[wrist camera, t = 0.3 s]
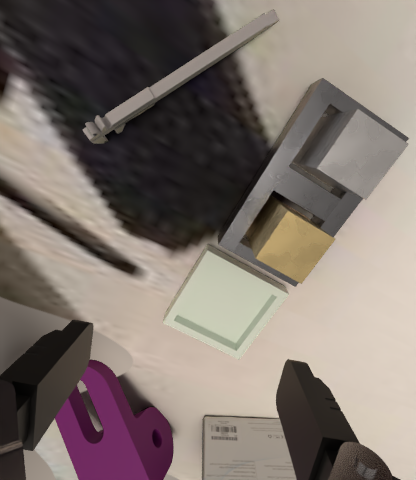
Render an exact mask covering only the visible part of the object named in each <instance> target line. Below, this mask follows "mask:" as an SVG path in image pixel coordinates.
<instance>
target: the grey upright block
mask: <svg viewBox="0 0 416 480" xmlns="http://www.w3.org/2000/svg"><path fill="white" fill-rule="evenodd" d="M407 146H408V143H406V142H405V141H404V140H402V139H401V138H399V137H398V136H396V135H395V134H393V133H392V132H391V131H389V130H388V129H386V128H385V127H383V126H382V125H381V124H379V123H378V122H376V121H375V120H373V119H372V118H370V117H369V116H368V115H366V114H365V113H363V112H362V111H360V110H359V109H355V110H351V111H346V112H342V113H338V114H333V115H329V116H325V117H321V118H320V119H319V121H318V122H317V124H316V125H315V127H314V129H313V130H312V132H311V133H310V135H309V136H308V138H307V139H306V141H305V142H304V144H303V145H302V147H301V149H300V150H299V152H298V153H297V155H296V156H295V158H294V159H293V161H292V162H291V163H293V164H294V165H296V166H298V167H299V168H301V169H302V170H304V171H306V172H307V173H309V174H310V175H312V176H314V177H315V178H317V179H318V180H320V181H321V182H323V183H325V184H326V185H328V186H330V187H333V188H336V189H339V190H341V191H344V192H347V193H349V194H352V195H355V196H357V197H360V198H363V199H367V198H368V196H369V195H370V194H371V192H372V191H373V190H374V189H375V187H376V186H377V185H378V183H379V182H380V181H381V180H382V178H383V177H384V176H385V174H386V173H387V172H388V170H389V169H390V168H391V167H392V165H393V164H394V163H395V161H396V160H397V159H398V157H399V156H400V155H401V154H402V152H403V151H404V150H405V148H406V147H407Z"/></svg>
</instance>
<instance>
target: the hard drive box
mask: <svg viewBox="0 0 416 480" xmlns="http://www.w3.org/2000/svg"><path fill="white" fill-rule="evenodd" d="M202 480H297V479H296V475H295V471H294V468H293V464H292V461H291V457H290V454H289V450H288V446H287V443H286V439H285V436H284V432H283V429H282V425H281V421H280V419H277V418H276V419H263V418H237V417H208V416H206V417H205V418H204V419H203V431H202Z"/></svg>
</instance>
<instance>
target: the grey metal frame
mask: <svg viewBox="0 0 416 480" xmlns="http://www.w3.org/2000/svg"><path fill="white" fill-rule="evenodd" d="M355 109H359V110H360V111H362V112H363V113H365V114H366V115H368V116H369V117H370V118H372V119H373V120H375V121H376V122H378V123H379V124H381V125H382V126H383V127H385V128H386V129H388V130H389V131H391V132H392V133H393V134H395V135H396V136H398V137H399V138H401V139H402V140H404V141H405V142H406V141H407V140H408V139H409V138H408V137H407V136H405V135H404V134H402V133H401V132H399V131H398V130H397V129H395V128H394V127H392V126H391V125H389V124H388V123H387V122H385V121H384V120H382V119H381V118H379V117H378V116H376V115H375V114H374V113H372V112H371V111H369V110H368V109H366V108H365V107H364V106H362V105H361V104H359V103H358V102H356V101H355V100H354V99H352V98H351V97H349V96H348V95H346V94H345V93H344V92H342V91H341V90H339V89H338V88H336V87H335V86H334V85H332V84H331V83H329V82H328V81H326V80H325V79H324V78H322V79H320V80H318V81H317V82H315V83H313V84H311V86H310V87H309V89H308V91H307V92H306V94H305V96H304V97H303V99H302V100H301V102H300V104H299V105H298V107H297V108H296V110H295V112H294V113H293V115H292V117H291V118H290V120H289V121H288V123H287V125H286V126H285V128H284V129H283V131H282V133H281V134H280V136H279V138H278V139H277V141H276V142H275V144H274V146H273V147H272V149H271V151H270V152H269V154H268V155H267V157H266V159H265V160H264V162H263V163H262V165H261V167H260V168H259V170H258V172H257V173H256V175H255V176H254V178H253V180H252V181H251V183H250V184H249V186H248V188H247V189H246V191H245V193H244V194H243V196H242V197H241V199H240V201H239V202H238V204H237V206H236V207H235V209H234V210H233V212H232V214H231V215H230V217H229V218H228V220H227V222H226V223H225V225H224V227H223V228H222V230H221V231H220V233H219V235H218V245H220V246H222V247H224V248H226V249H227V250H229V251H231V252H233V253H235V254H237V255H238V256H240V257H242V258H244V259H246V260H247V261H249V262H251V263H253V264H255V265H257V266H258V267H260V268H262V269H264V270H266V271H268V272H269V273H271V274H273V275H275V276H277V277H279V278H280V279H282V280H284V281H286V282H288V283H290V284H291V285H293V286H295V287H296V285H297V284H298V283H299V282H297V281H295V280H294V279H292V278H290V277H288V276H286V275H284V274H283V273H281V272H279V271H277V270H275V269H274V268H272V267H270V266H268V265H266V264H265V263H263V262H261V261H259V260H257V259H255V256H254V254H253V251H252V248H251V246H250V243H249V240H247V239H245V238H243V236H244V235H245V233H246V232H247V230H248V228H249V227H250V225H251V224H252V222H253V221H254V219H255V218H256V216H257V215H258V213H259V212H260V210H261V208H262V207H263V205H264V204H265V202H266V201H267V199H268V198H269V196H270V195H271V193H272V192H273V190H274V191H276V192H277V193H279V194H281V195H282V196H284V197H286V198H287V199H289V200H291V201H292V202H294V203H296V204H297V205H299V206H301V207H302V208H304V209H306V210H307V211H309V212H311V213H312V214H314V216H313V218H312V219H311V221H313V222H314V223H315V224H317V225H318V226H319V227H320V228H322V229H323V230H324V231H326V232H327V233H328V234H330V235H331V236H332V237H334V236H335V234H336V233H337V232H338V230H339V229H340V228H341V227H342V225H343V224H344V223H345V221H346V220H347V219H348V217H349V216H350V215H351V213H352V212H353V211H354V210H355V208H356V207H357V206H358V204H359V203H360V202H361V200H362V199H363V198H360V197H357V196H355V195H352V194H349V193H347V192H344V191H341V190H339V189H336V188H334V189H333V190H332V191H331V193H330V192H328V191H327V190H325V189H323V188H322V187H320V186H319V185H317V184H315V183H314V182H312V181H311V180H309V179H307V178H306V177H304V176H303V175H301V174H299V173H298V172H296V171H295V170H293V169H291V168H290V167H289V165H290V164H291V162H292V161H293V159H294V158H295V156H296V155H297V153H298V152H299V150H300V149H301V147H302V145H303V144H304V142H305V141H306V139H307V138H308V136H309V135H310V133H311V132H312V130H313V129H314V127H315V125H316V124H317V122H318V121H319V119H320V118H321V116H322V115H323V113H324V112H326V113H327V114H329V115H333V114H338V113H342V112H346V111H351V110H355Z"/></svg>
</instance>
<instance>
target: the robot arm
mask: <svg viewBox="0 0 416 480" xmlns="http://www.w3.org/2000/svg"><path fill="white" fill-rule="evenodd" d="M92 335H93V323H89V322H84V321H78V320H72V321H71V322H70V323H69V324H68V325H67V326H66V327H65V328H64V329H63V330H62V331H60V330H54V331H52V332H50V333H48V334H46V335H44V336H42V337H41V338H40V339H39V340H38V341H37V342H36V343H35V344H34V345H33V346H32V347H31V348H29V349H28V350H27V351H26V353H25V354H23V355H22V356H21V357H20V358H19V359H17V360H16V361H15V362H14V363H13V364H12V365H11V366H10V367H9V368H8V369H7V370H6V371H4V372H3V373H2V374H1V375H0V480H26V475H25V465H24V454H23V449H25V450H30V451H33V450H34V449H35V447H36V446H37V444H38V443H39V441H40V440H41V438H42V436H43V435H44V433H45V432H46V430H47V429H48V427H49V426H50V424H51V423H52V421H53V420H54V418H55V417H56V415H57V414H58V412H59V411H60V409H61V408H62V406H63V405H64V403H65V402H66V400H67V399H68V397H69V396H70V394H71V393H72V391H73V389H74V388H75V386H76V385H77V383H78V382H79V380H80V379H81V377H82V376H83V374H84V373H85V371H86V369H87V366H88V363H89V359H90V351H91V344H92ZM276 406H277V411H278V414H279V418H280V421H281V425H282V429H283V432H284V436H285V439H286V443H287V446H288V450H289V454H290V457H291V461H292V464H293V468H294V471H295V475H296V479H297V480H400V479H398V478H396V477H394V476H392V474H391V472H390V470H389V468H388V466H387V465H386V464H385V462H384V461H383V460H382V459H381V458H380V457H379V456H378V455H377V454H376V453H374V452H373V451H372V450H370V449H369V448H367V447H365V446H363V445H361V444H360V443H359V441H358V439H357V438H356V436H355V434H354V432H353V430H352V429H351V427H350V425H349V423H348V421H347V420H346V418H345V416H344V414H343V412H342V411H341V409H340V407H339V405H338V403H337V402H335V398H334V396H333V394H332V393H331V391H330V389H329V388H328V387H327V386H326V385H325V384H324V383H323V382H322V381H321V380H320V379H319V378H315V377H314V376H313V374H312V372H311V370H310V368H309V366H308V364H307V363H305V362H300V361H294V360H289V359H288V360H287V361H286V362H285V365H284V369H283V372H282V376H281V379H280V383H279V386H278V390H277V394H276Z"/></svg>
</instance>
